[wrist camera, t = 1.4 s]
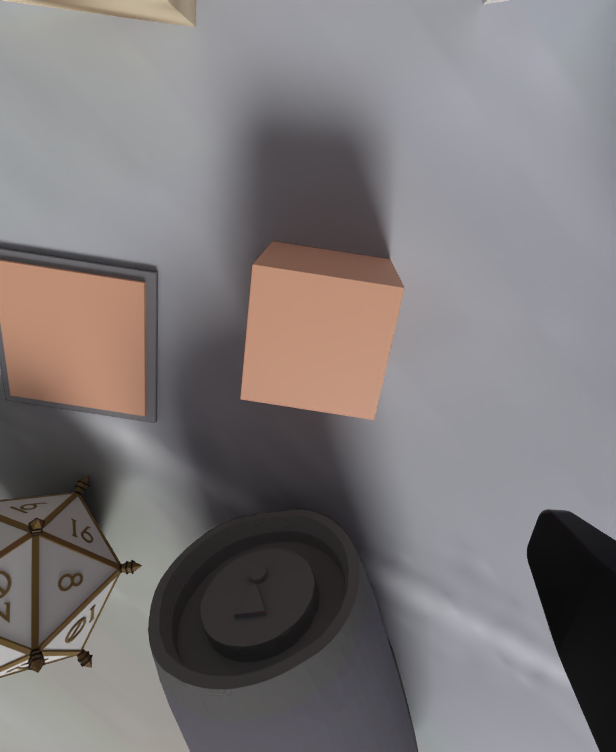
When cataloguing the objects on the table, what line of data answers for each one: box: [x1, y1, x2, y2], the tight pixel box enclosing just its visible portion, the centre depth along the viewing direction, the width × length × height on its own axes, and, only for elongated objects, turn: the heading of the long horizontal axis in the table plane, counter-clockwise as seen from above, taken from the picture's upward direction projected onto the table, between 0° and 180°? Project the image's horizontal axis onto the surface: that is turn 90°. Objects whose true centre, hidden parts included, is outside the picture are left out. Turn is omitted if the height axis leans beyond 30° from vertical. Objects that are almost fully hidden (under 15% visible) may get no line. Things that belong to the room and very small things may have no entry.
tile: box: [0, 248, 158, 423], centre depth 20 cm, size 7×7×1 cm
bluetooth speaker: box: [148, 509, 418, 752], centre depth 23 cm, size 23×9×10 cm, turn 13°
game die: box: [0, 476, 142, 678], centre depth 21 cm, size 9×8×10 cm
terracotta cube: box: [240, 241, 404, 420], centre depth 17 cm, size 4×4×4 cm
